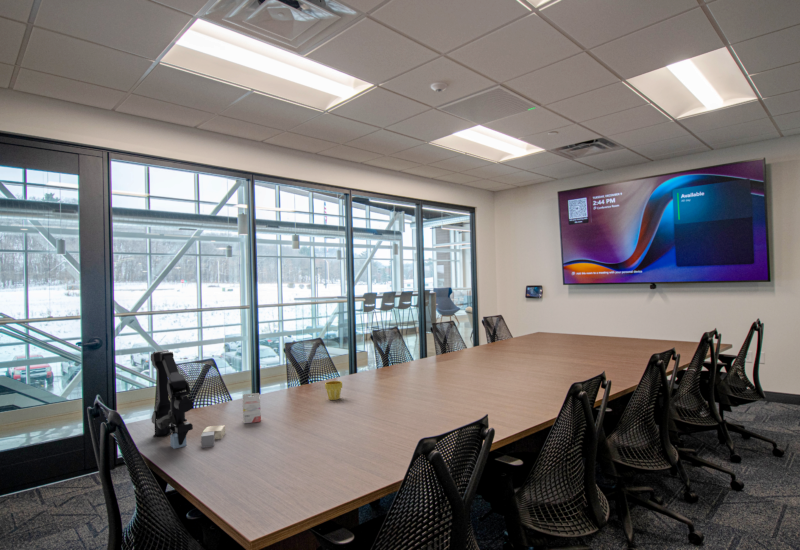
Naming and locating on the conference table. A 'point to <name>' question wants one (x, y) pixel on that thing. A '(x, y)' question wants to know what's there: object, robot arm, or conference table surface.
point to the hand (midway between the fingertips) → (178, 443)
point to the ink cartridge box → (251, 408)
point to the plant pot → (333, 389)
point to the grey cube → (207, 439)
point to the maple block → (216, 431)
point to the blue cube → (176, 441)
